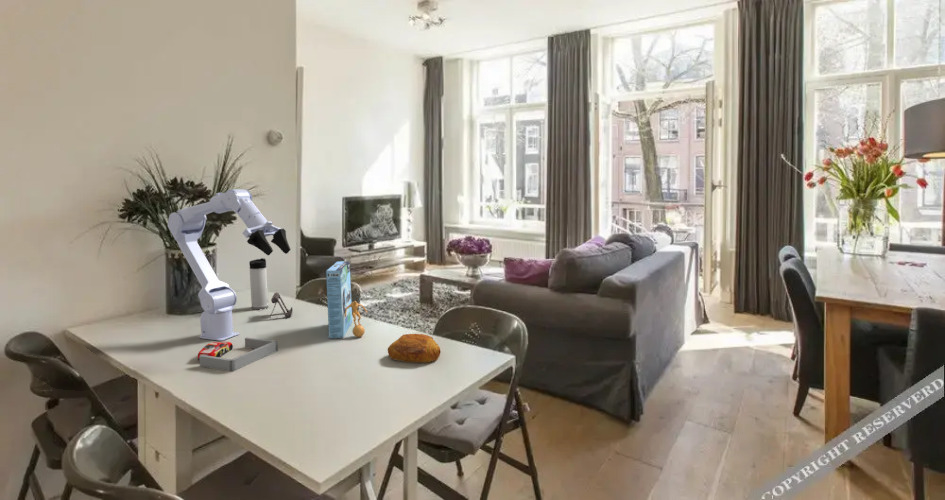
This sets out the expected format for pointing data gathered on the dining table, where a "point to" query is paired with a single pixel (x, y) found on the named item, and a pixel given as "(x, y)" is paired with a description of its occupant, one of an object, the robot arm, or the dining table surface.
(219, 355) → the race car
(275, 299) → the portable electronic device stand
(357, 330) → the figurine
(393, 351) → the croissant
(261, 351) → the grey u-shaped wall
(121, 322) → the dining table surface
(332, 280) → the blue product box
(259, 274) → the travel mug
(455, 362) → the dining table surface
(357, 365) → the dining table surface
